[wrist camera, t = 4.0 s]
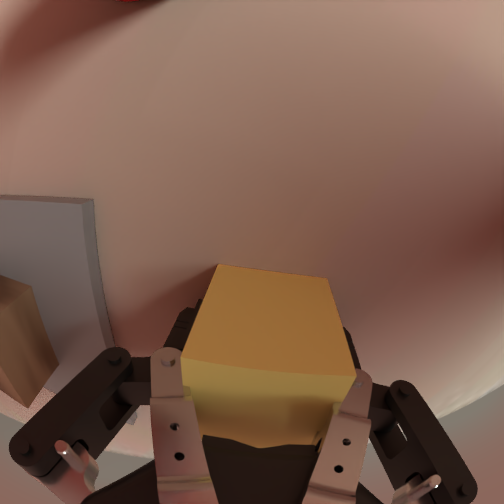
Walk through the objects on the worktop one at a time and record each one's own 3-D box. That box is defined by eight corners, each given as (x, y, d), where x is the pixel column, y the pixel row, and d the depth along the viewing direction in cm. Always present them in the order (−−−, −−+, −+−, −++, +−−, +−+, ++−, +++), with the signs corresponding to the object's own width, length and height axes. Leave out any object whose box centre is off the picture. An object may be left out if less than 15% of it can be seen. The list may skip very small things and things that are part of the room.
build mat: (93, 199, 12) (81, 204, 11) (137, 416, 19) (133, 425, 18) (-44, 195, 12) (-52, 198, 11) (4, 355, 19) (-1, 360, 18)
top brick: (326, 278, 12) (356, 375, 7) (304, 356, 14) (311, 450, 9) (218, 263, 13) (180, 357, 7) (213, 345, 15) (188, 437, 9)
